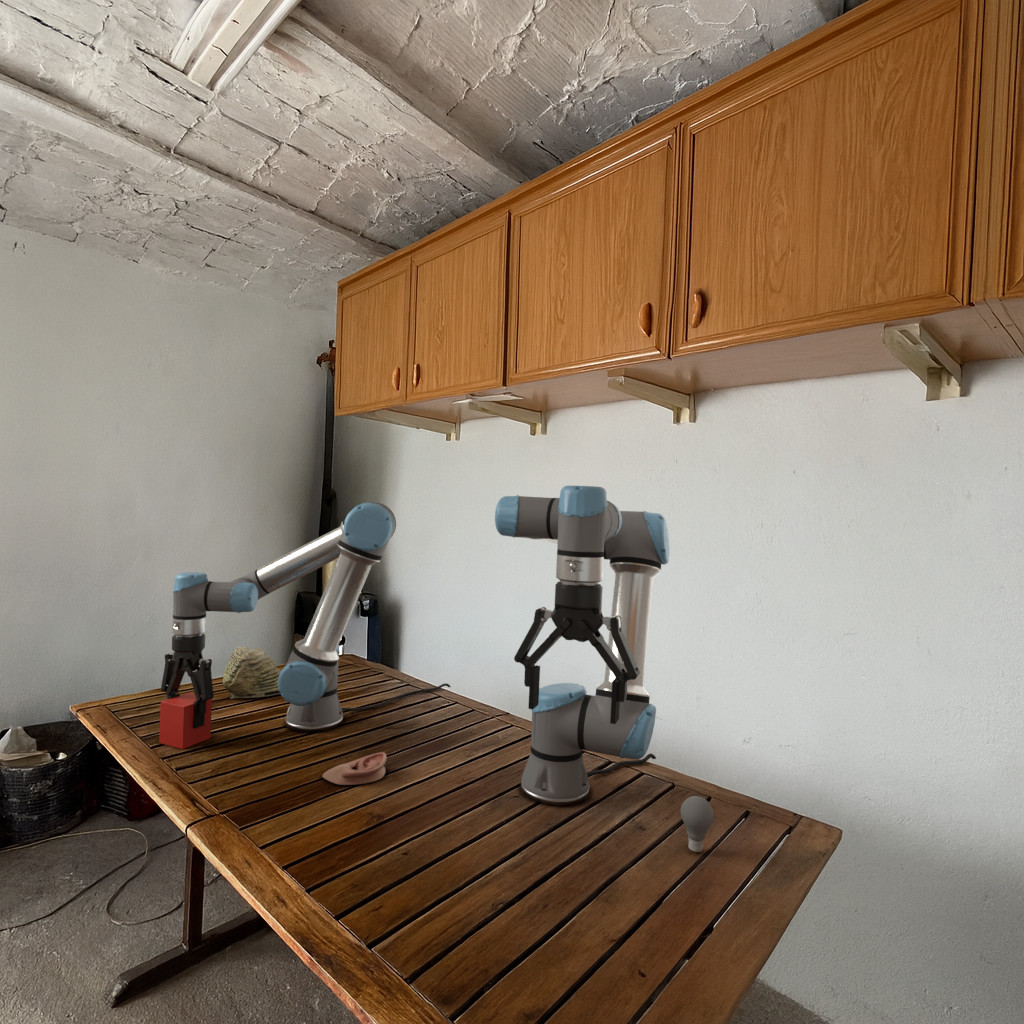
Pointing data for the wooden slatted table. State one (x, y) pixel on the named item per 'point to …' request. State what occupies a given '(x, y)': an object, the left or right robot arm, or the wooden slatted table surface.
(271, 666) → the fossil
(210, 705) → the brick
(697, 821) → the light bulb
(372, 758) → the anatomical model
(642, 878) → the wooden slatted table surface
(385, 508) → the left robot arm
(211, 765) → the wooden slatted table surface
